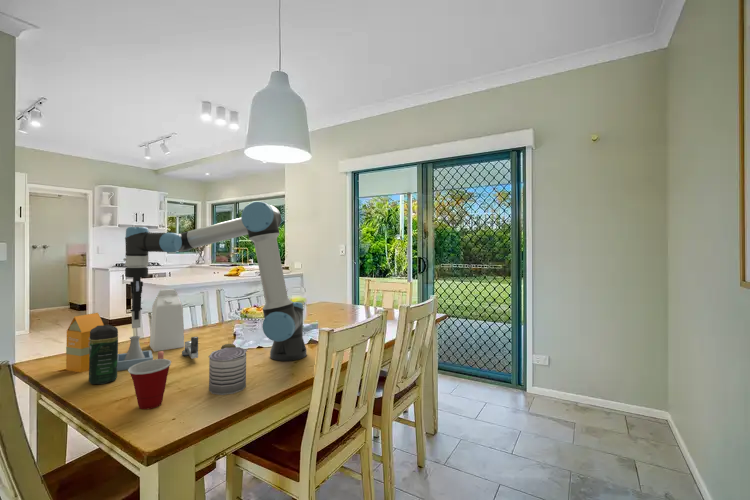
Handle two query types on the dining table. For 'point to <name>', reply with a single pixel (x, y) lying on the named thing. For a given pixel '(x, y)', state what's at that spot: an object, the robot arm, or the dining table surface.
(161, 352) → the stop post
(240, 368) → the can
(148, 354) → the tray
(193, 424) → the dining table surface
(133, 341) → the flask
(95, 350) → the coffee jar
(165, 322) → the milk
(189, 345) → the crank
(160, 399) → the plastic cup
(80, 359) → the orange juice
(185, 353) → the crank base
